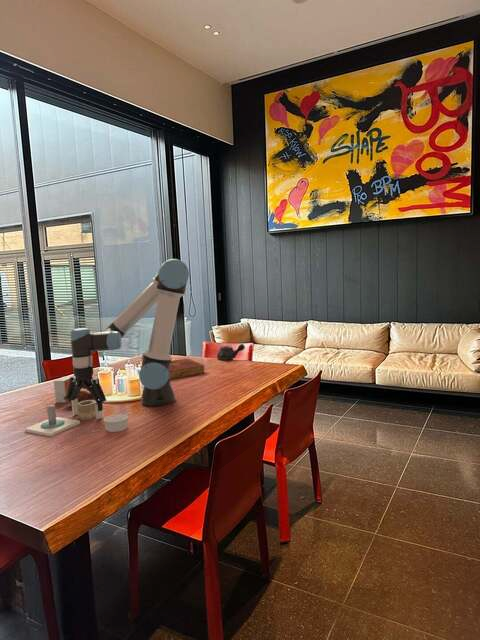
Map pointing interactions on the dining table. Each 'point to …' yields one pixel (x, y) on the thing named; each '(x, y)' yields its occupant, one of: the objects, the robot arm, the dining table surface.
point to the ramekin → (116, 422)
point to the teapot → (228, 352)
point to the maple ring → (86, 409)
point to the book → (185, 368)
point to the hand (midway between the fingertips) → (87, 416)
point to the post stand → (52, 424)
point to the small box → (61, 389)
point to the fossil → (80, 397)
